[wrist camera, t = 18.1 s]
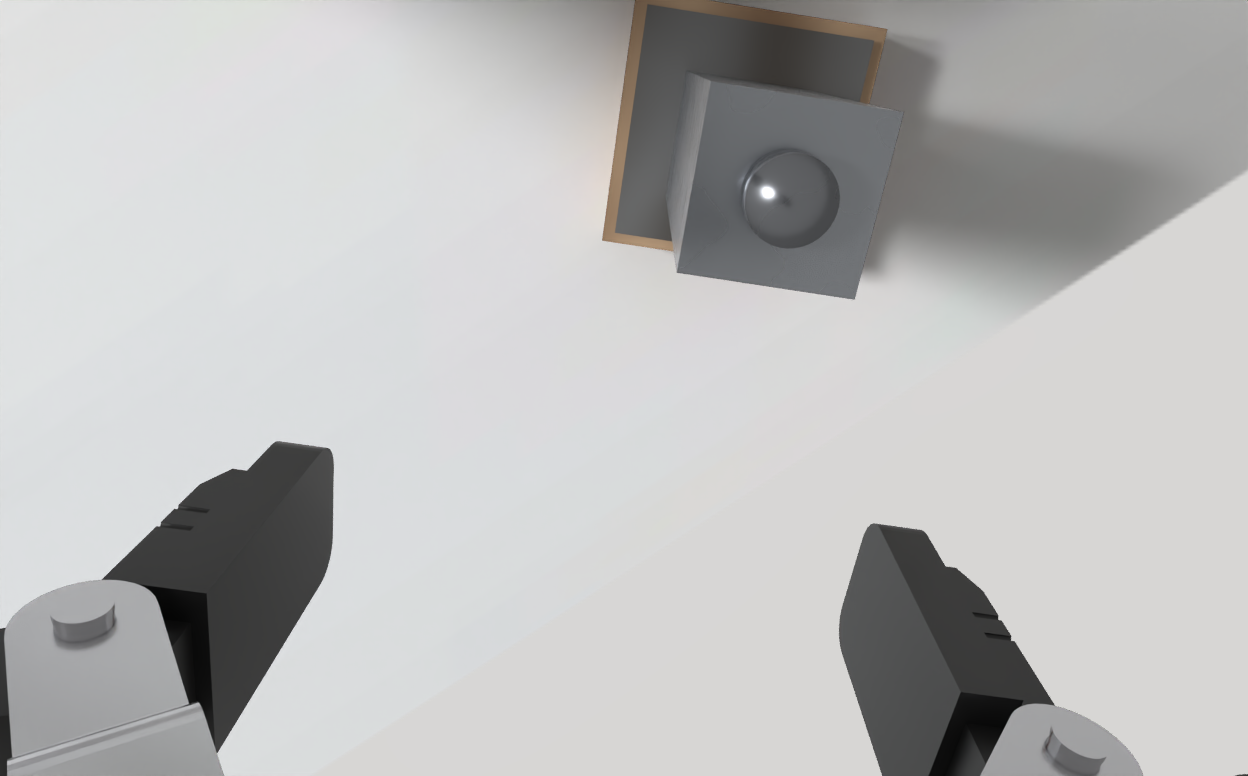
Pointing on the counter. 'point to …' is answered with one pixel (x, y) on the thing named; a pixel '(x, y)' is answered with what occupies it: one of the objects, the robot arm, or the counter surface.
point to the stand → (723, 46)
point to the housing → (776, 184)
